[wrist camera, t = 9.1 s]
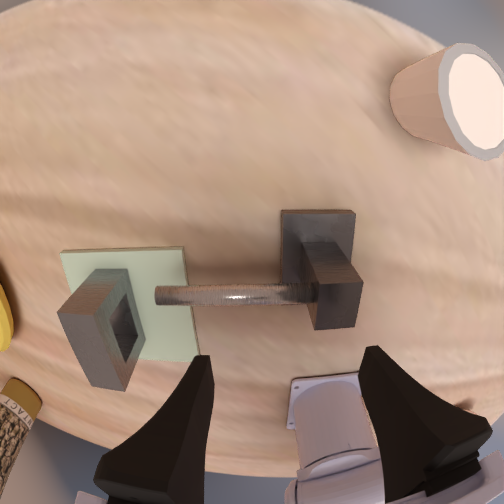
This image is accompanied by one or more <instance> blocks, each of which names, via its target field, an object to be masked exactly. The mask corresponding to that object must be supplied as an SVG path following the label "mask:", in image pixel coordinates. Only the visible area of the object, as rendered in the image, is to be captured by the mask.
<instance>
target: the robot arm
mask: <svg viewBox="0 0 504 504" xmlns="http://www.w3.org/2000/svg"><path fill="white" fill-rule="evenodd" d="M214 385H215V384H214V379H213V373H212V367H211V361H210V355H196V356H195V357H194V358H193V360H192V362H191V364H190V366H189V368H188V370H187V371H186V373H185V375H184V376H183V378H182V379H181V381H180V382H179V384H178V386H177V387H176V389H175V390H174V391H173V393H172V394H171V395H170V397H169V398H168V399H167V401H166V402H165V403H164V405H163V406H162V407H161V408H160V409H159V410H158V412H157V413H156V414H155V415H154V416H153V417H152V418H151V419H150V420H149V421H148V422H147V423H146V424H145V425H144V426H143V427H142V428H141V429H139V430H138V431H137V432H136V433H135V434H133V435H132V436H131V437H130V438H128V439H127V440H126V441H124V442H123V443H122V444H120V445H119V446H117V447H116V448H114V449H112V450H111V451H109V452H108V453H106V454H104V455H103V456H102V457H101V460H100V461H99V464H98V466H97V469H96V472H95V475H94V479H93V481H94V483H95V485H97V486H98V487H99V488H100V489H101V490H103V491H104V492H105V493H107V494H108V495H109V499H108V501H107V500H105V499H103V498H100V497H97V496H94V495H91V494H88V493H85V492H82V491H78V493H77V497H76V500H75V503H74V504H204V471H205V451H206V443H207V437H208V431H209V426H210V420H211V415H212V409H213V402H214ZM361 394H362V397H363V399H364V402H365V405H366V408H367V410H368V413H369V416H370V418H371V421H372V424H373V427H374V430H375V433H376V436H377V441H378V446H379V447H377V446H376V443H375V440H374V437H373V434H372V430H371V427H370V424H369V421H368V418H367V415H366V412H365V409H364V406H363V403H362V400H361ZM286 426H287V429H295V431H296V439H297V447H298V455H299V463H300V468H301V469H300V470H297V478H298V479H296V480H292V481H291V482H290V484H289V486H288V487H287V489H286V491H285V504H487V503H488V502H490V501H491V500H493V499H494V498H496V497H497V496H499V495H500V494H501V493H503V492H504V460H503V458H502V455H501V453H500V452H499V450H497V451H495V452H493V453H492V454H490V455H489V456H487V457H485V458H483V459H482V460H481V461H479V462H478V460H477V457H479V452H478V449H479V448H480V447H481V446H482V445H483V444H484V443H485V442H486V441H487V440H488V439H489V438H490V436H491V434H492V432H493V430H492V428H491V426H490V425H489V423H488V421H487V419H486V418H485V417H482V416H478V415H475V414H472V413H469V412H467V411H465V410H462V409H460V408H458V407H456V406H454V405H452V404H450V403H448V402H446V401H444V400H442V399H441V398H439V397H438V396H436V395H435V394H433V393H432V392H430V391H429V390H427V389H426V388H424V387H423V386H422V385H421V384H419V383H418V382H417V381H416V380H414V379H413V378H412V377H411V376H410V375H409V374H407V373H406V372H405V371H404V370H403V369H402V368H401V367H400V366H399V365H398V364H397V363H396V362H395V361H394V360H393V359H391V358H390V357H389V356H388V355H387V354H386V353H385V352H384V351H383V350H382V349H381V348H380V347H379V346H378V345H377V346H369V347H366V350H365V353H364V356H363V360H362V363H361V366H360V369H359V372H358V373H351V374H343V375H334V376H325V377H314V378H302V379H295V380H293V381H292V384H291V393H290V401H289V410H288V417H287V425H286Z"/></svg>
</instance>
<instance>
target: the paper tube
mask: <svg viewBox="0 0 504 504" xmlns="http://www.w3.org/2000/svg"><path fill="white" fill-rule="evenodd" d="M40 409H41V401H40V399H39V397H38V396H37V395H36V393H35V392H34V391H33V390H32V389H31V388H30V387H28V386H27V385H26V384H25V383H23V382H21V381H20V380H17V379H10V380H9V381H8V382H7V384H6V385H5V387H4V388H3V390H2V391H1V393H0V498H1V495H2V492H3V490H4V487H5V484H6V482H7V479H8V477H9V474H10V472H11V470H12V467H13V465H14V463H15V460H16V458H17V456H18V454H19V451H20V449H21V447H22V445H23V443H24V441H25V439H26V437H27V434H28V432H29V430H30V428H31V426H32V424H33V422H34V420H35V418H36V416H37V414H38V413H39V411H40Z"/></svg>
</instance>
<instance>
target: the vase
mask: <svg viewBox="0 0 504 504" xmlns="http://www.w3.org/2000/svg"><path fill="white" fill-rule="evenodd" d="M13 333H14V328H13V318H12V314H11V310H10V306H9V303H8V301H7V298H6V295H5V293H4V290H3V288H2V286H1V284H0V351H5V350H6V349H8V348H9V345H10V342H11V339H12V336H13Z"/></svg>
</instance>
